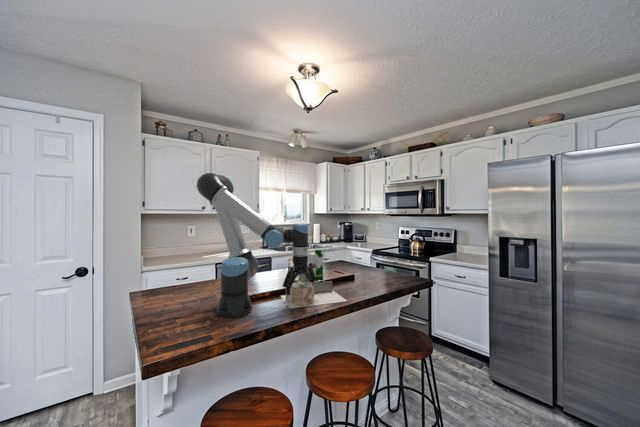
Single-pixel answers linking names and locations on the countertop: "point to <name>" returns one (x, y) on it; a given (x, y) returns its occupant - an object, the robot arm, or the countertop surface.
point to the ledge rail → (322, 286)
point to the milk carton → (317, 263)
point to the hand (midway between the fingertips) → (300, 297)
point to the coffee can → (303, 278)
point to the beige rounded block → (302, 294)
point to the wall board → (319, 299)
